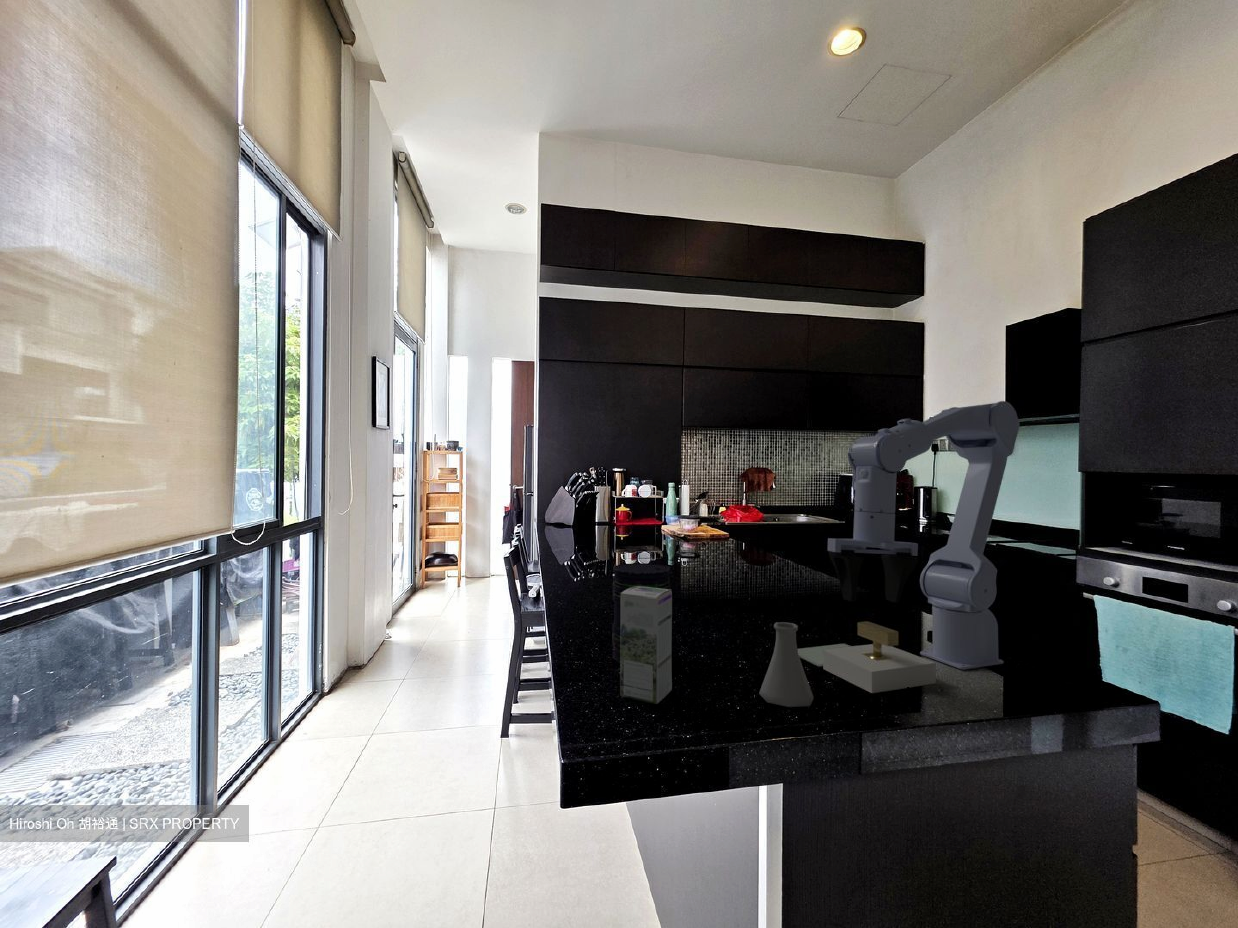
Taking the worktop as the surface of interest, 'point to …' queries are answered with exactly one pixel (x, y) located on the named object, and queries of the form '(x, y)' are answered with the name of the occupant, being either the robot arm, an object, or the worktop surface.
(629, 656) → the syrup box
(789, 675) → the flask
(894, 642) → the t key
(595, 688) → the worktop surface
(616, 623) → the storage jar
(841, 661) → the block
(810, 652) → the mat
